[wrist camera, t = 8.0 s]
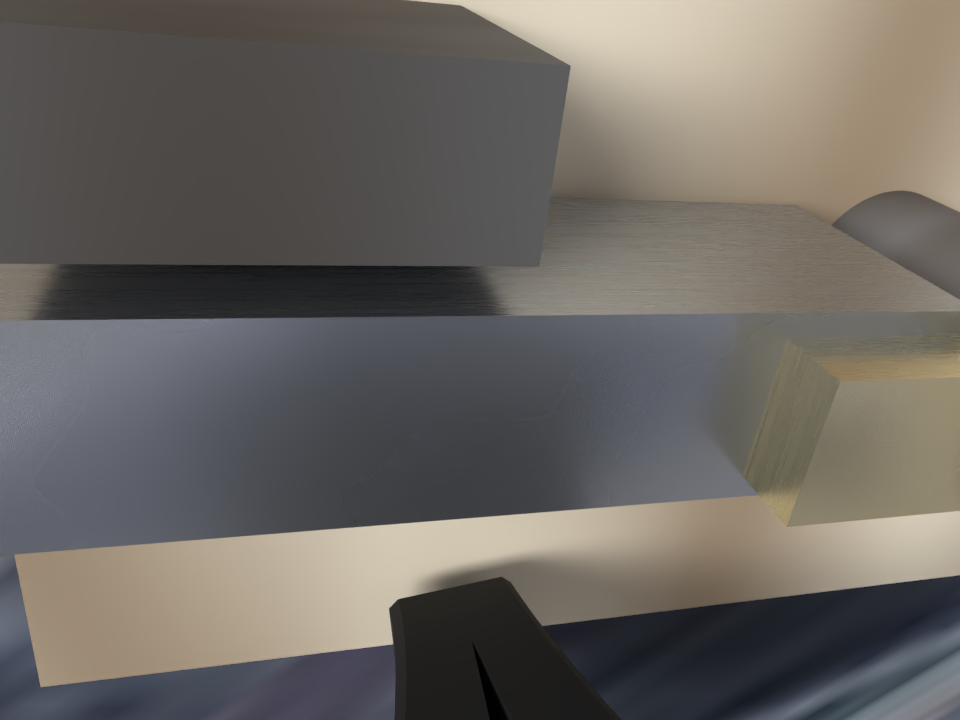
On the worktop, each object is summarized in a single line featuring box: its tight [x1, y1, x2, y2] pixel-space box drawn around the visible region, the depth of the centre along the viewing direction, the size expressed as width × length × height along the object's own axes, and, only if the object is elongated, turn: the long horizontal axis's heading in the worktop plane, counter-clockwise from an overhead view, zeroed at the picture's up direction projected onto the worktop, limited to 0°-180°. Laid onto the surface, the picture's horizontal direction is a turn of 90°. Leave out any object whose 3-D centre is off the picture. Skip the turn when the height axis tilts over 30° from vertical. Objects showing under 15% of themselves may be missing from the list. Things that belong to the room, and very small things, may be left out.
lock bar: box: [0, 197, 960, 556], centre depth 7 cm, size 10×3×3 cm, turn 83°
